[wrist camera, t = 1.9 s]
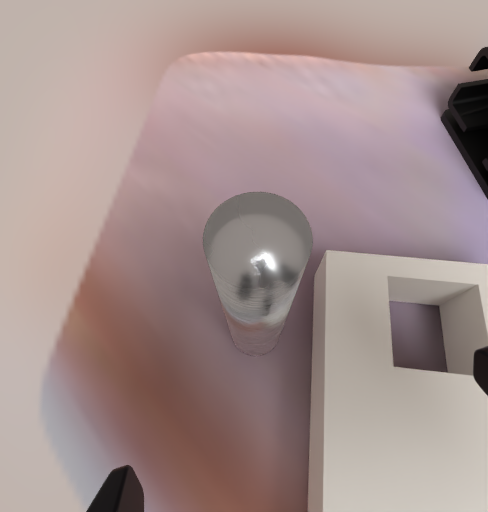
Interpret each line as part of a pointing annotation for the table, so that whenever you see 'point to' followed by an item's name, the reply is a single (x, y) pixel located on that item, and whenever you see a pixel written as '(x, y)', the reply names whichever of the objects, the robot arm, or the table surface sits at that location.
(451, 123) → the end cap
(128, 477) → the robot arm
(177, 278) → the table surface
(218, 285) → the long pin
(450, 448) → the hole plate
